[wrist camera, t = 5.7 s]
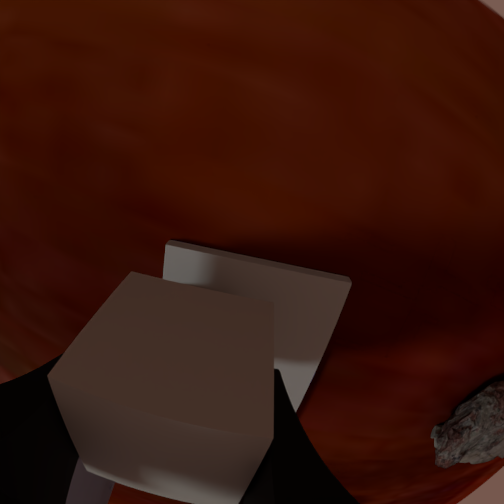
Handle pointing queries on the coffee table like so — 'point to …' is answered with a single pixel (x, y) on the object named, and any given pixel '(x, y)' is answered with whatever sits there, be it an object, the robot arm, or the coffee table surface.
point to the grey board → (272, 290)
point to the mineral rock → (473, 430)
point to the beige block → (171, 390)
